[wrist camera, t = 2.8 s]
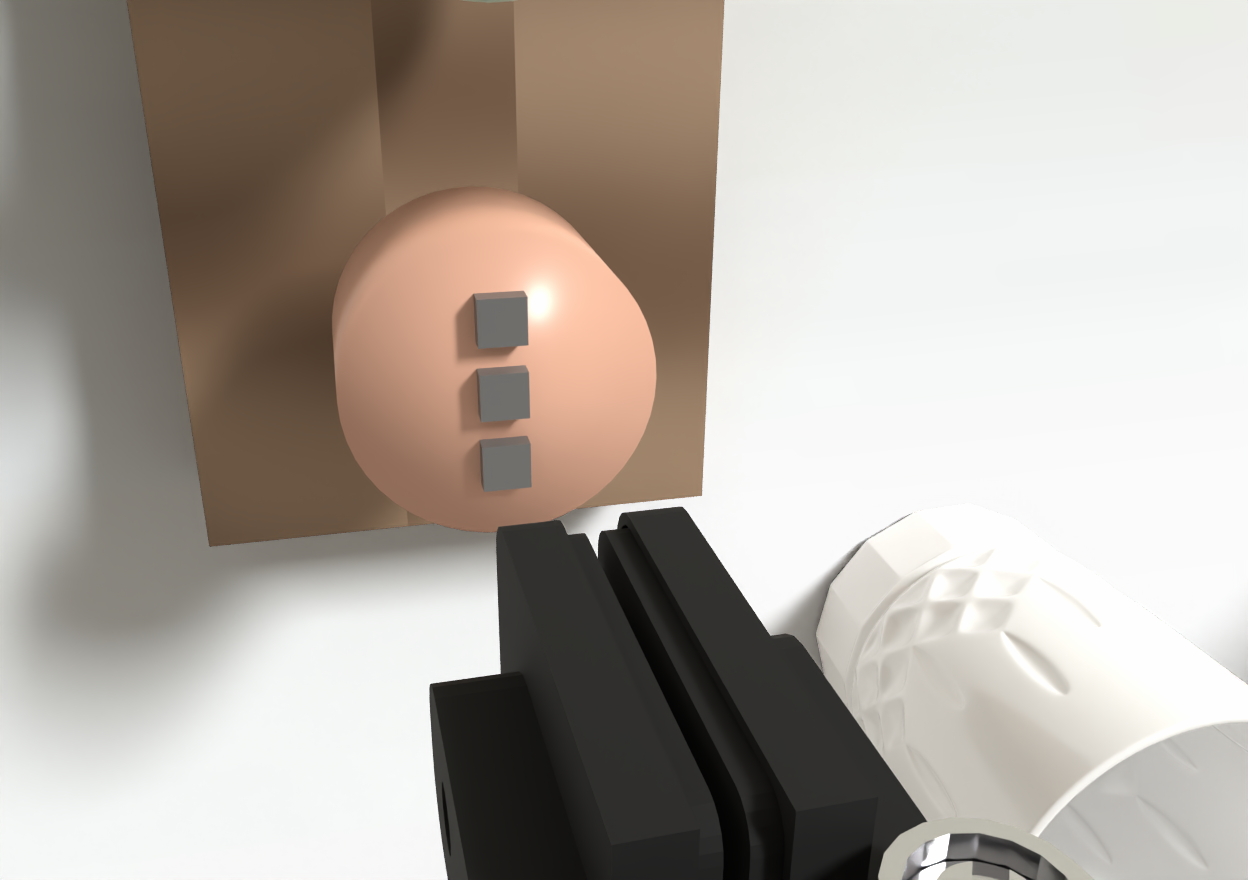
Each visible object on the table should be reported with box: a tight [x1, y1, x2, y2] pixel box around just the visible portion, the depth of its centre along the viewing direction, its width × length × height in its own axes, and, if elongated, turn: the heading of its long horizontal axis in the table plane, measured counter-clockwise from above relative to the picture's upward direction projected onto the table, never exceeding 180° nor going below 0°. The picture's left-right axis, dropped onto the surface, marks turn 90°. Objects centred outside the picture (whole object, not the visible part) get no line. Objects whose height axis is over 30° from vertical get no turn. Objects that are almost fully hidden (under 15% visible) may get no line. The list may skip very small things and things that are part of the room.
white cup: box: [816, 504, 1248, 880], centre depth 27 cm, size 8×8×10 cm
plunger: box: [332, 186, 657, 532], centre depth 19 cm, size 5×5×7 cm
